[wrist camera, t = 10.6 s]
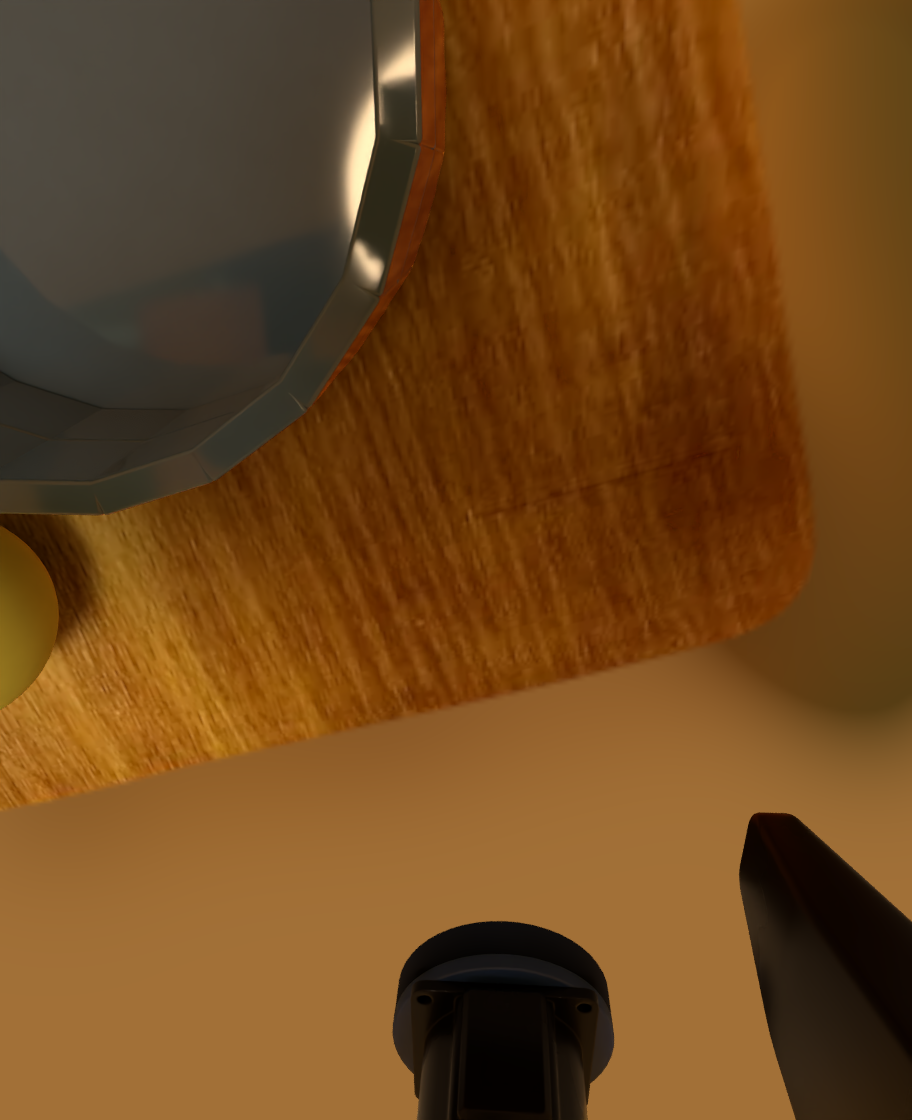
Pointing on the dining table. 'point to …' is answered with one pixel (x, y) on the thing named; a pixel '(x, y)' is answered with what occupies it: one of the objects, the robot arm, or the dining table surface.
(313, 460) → the dining table surface
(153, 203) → the bowl
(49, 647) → the pear toy
